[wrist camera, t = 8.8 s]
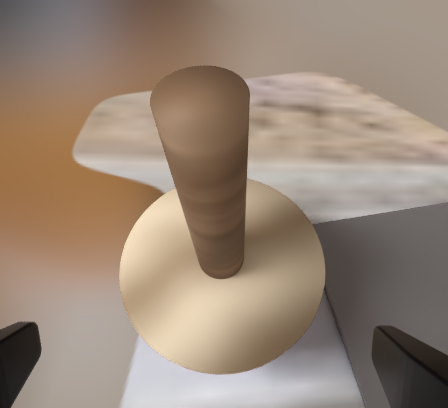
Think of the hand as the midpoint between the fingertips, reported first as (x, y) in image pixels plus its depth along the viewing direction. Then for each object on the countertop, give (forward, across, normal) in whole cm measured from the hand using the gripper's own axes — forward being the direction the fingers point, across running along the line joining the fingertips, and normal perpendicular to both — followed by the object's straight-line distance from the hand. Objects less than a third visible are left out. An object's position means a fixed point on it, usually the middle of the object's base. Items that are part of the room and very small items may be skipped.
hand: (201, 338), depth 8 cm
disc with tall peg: (+10, 0, +2) cm, 10 cm away
